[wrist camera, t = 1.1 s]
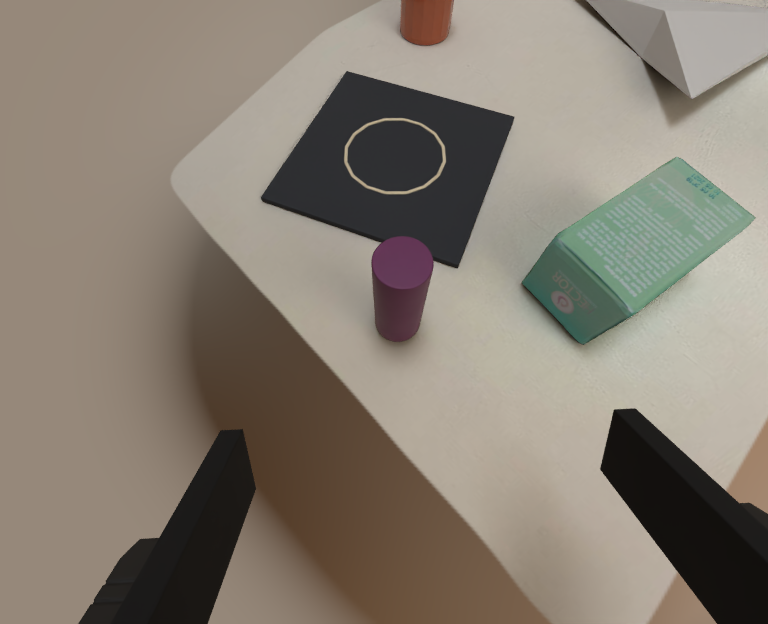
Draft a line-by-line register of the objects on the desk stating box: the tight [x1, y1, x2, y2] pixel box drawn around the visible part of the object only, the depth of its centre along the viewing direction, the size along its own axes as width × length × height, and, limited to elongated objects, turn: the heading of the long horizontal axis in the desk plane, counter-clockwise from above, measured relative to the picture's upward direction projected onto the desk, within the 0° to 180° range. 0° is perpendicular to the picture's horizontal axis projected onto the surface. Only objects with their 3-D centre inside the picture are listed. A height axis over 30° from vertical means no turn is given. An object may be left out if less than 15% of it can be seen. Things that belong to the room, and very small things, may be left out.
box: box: [522, 157, 756, 345], centre depth 29 cm, size 7×14×8 cm, turn 125°
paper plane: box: [587, 0, 768, 99], centre depth 44 cm, size 26×28×4 cm
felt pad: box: [261, 71, 514, 268], centre depth 38 cm, size 20×20×1 cm
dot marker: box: [371, 236, 434, 342], centre depth 26 cm, size 4×4×10 cm
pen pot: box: [400, 0, 454, 45], centre depth 44 cm, size 6×6×6 cm
